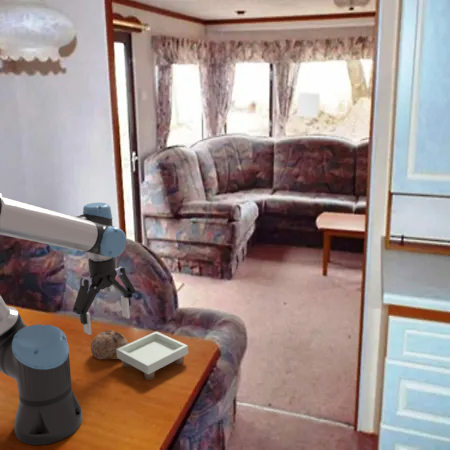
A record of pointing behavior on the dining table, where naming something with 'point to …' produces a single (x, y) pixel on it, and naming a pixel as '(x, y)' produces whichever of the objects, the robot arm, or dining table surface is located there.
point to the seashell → (107, 344)
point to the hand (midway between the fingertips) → (107, 324)
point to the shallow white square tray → (152, 353)
